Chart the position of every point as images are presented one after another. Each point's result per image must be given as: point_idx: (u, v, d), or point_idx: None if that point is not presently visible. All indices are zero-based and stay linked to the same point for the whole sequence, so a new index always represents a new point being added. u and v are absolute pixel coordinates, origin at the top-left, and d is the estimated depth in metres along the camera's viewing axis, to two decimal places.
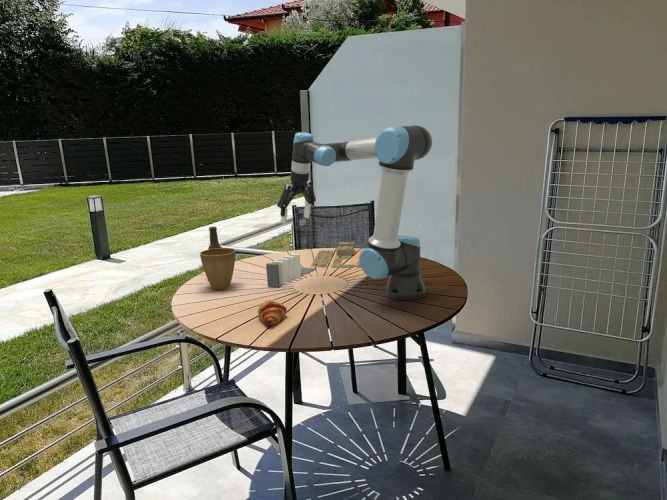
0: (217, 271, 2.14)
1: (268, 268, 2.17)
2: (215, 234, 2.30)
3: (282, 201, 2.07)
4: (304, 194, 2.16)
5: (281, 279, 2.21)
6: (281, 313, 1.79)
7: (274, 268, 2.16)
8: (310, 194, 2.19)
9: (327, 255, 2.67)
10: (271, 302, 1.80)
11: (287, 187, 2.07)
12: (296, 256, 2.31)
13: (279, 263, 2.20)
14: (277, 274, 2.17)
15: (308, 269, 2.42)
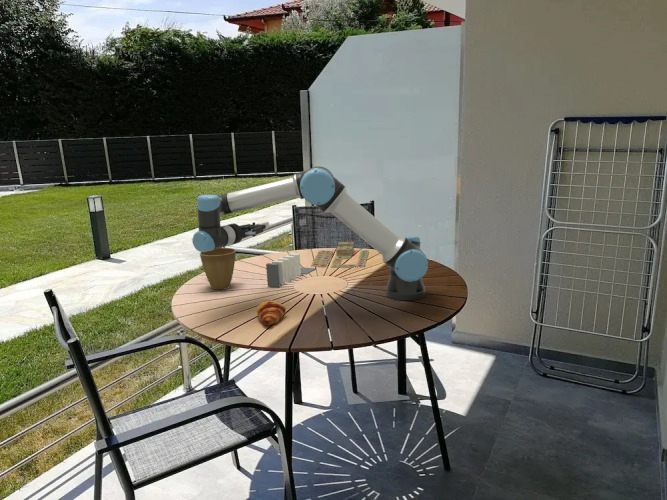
0: (217, 271, 2.14)
1: (268, 267, 2.17)
2: None
3: (260, 228, 2.00)
4: None
5: (281, 279, 2.21)
6: (280, 313, 1.79)
7: (274, 268, 2.16)
8: None
9: (327, 255, 2.67)
10: (270, 302, 1.80)
11: (255, 231, 1.95)
12: (296, 256, 2.31)
13: (279, 263, 2.20)
14: (277, 274, 2.17)
15: (308, 269, 2.42)
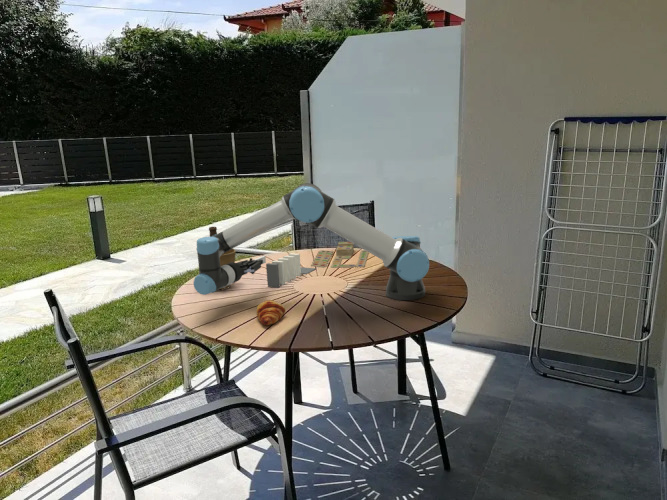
0: None
1: (268, 268, 2.17)
2: None
3: (258, 264, 2.02)
4: None
5: (281, 279, 2.21)
6: (279, 313, 1.79)
7: (274, 268, 2.16)
8: None
9: (327, 255, 2.67)
10: (269, 302, 1.80)
11: (254, 268, 1.96)
12: (296, 256, 2.31)
13: (279, 263, 2.20)
14: (277, 274, 2.17)
15: (308, 269, 2.42)
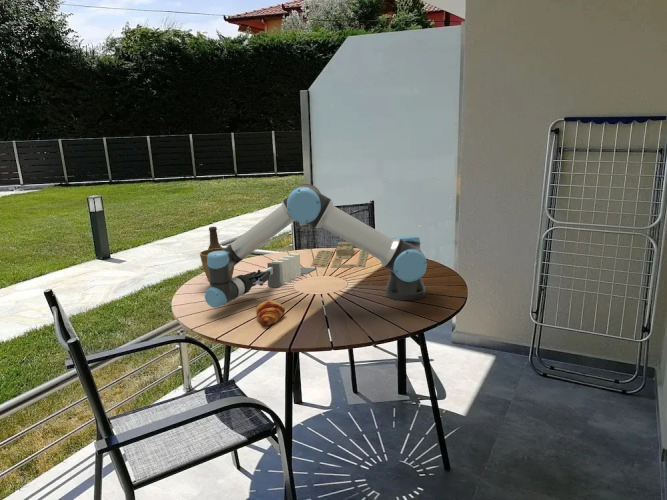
0: None
1: None
2: (215, 234, 2.30)
3: (266, 275, 2.07)
4: None
5: (281, 279, 2.21)
6: (278, 313, 1.79)
7: (275, 267, 2.17)
8: None
9: (327, 255, 2.67)
10: (269, 302, 1.80)
11: (262, 280, 2.01)
12: (296, 256, 2.31)
13: (279, 263, 2.20)
14: (278, 273, 2.17)
15: (308, 269, 2.42)
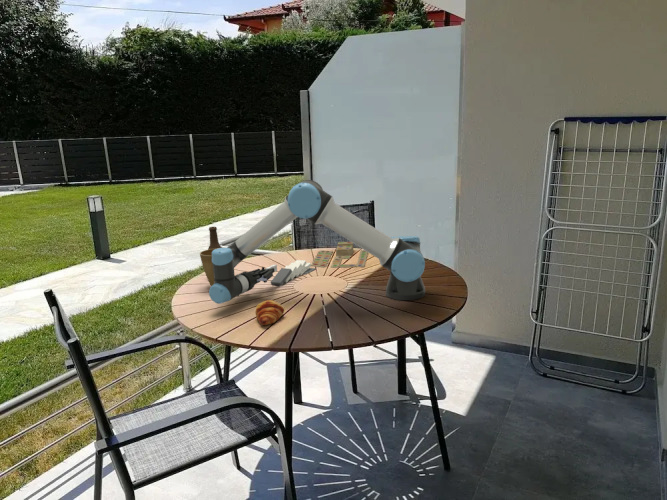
0: None
1: (281, 270, 2.27)
2: (215, 234, 2.30)
3: (270, 273, 2.09)
4: None
5: None
6: (277, 313, 1.79)
7: (287, 270, 2.26)
8: None
9: (327, 255, 2.67)
10: (268, 302, 1.80)
11: (266, 277, 2.04)
12: (308, 263, 2.42)
13: (293, 266, 2.30)
14: (286, 276, 2.24)
15: (308, 269, 2.42)
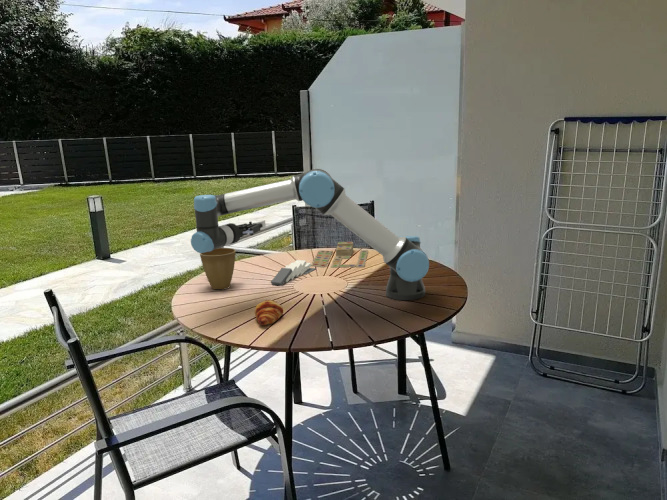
0: (217, 271, 2.14)
1: (282, 270, 2.27)
2: None
3: (257, 226, 1.99)
4: None
5: None
6: (277, 314, 1.79)
7: (288, 270, 2.26)
8: None
9: (326, 255, 2.67)
10: (267, 302, 1.80)
11: (253, 230, 1.93)
12: (308, 263, 2.42)
13: (293, 266, 2.30)
14: (287, 275, 2.24)
15: (308, 269, 2.42)
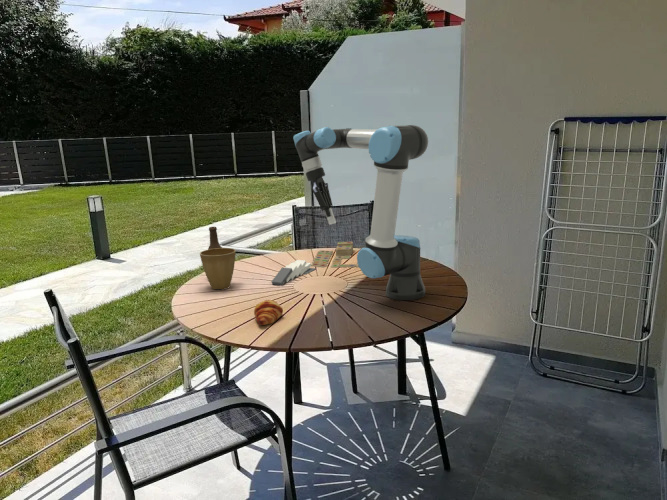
0: (217, 271, 2.14)
1: (282, 269, 2.27)
2: (215, 234, 2.30)
3: (322, 202, 2.08)
4: None
5: None
6: (276, 314, 1.79)
7: (288, 270, 2.26)
8: None
9: (326, 255, 2.67)
10: (267, 302, 1.80)
11: (316, 190, 2.06)
12: (308, 263, 2.42)
13: (293, 266, 2.31)
14: (287, 275, 2.24)
15: (308, 269, 2.42)
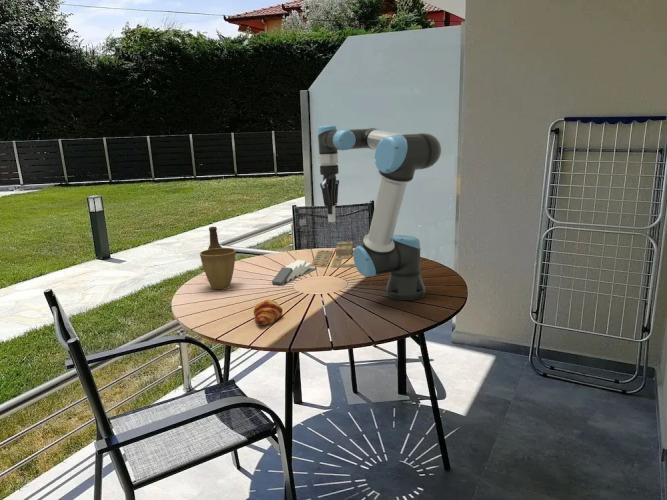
0: (217, 271, 2.14)
1: (282, 269, 2.27)
2: (215, 234, 2.30)
3: (327, 199, 2.09)
4: None
5: None
6: (275, 314, 1.79)
7: (288, 270, 2.26)
8: None
9: (326, 255, 2.67)
10: (266, 302, 1.80)
11: (324, 186, 2.06)
12: (308, 263, 2.42)
13: (293, 265, 2.31)
14: (287, 275, 2.24)
15: (308, 269, 2.42)
